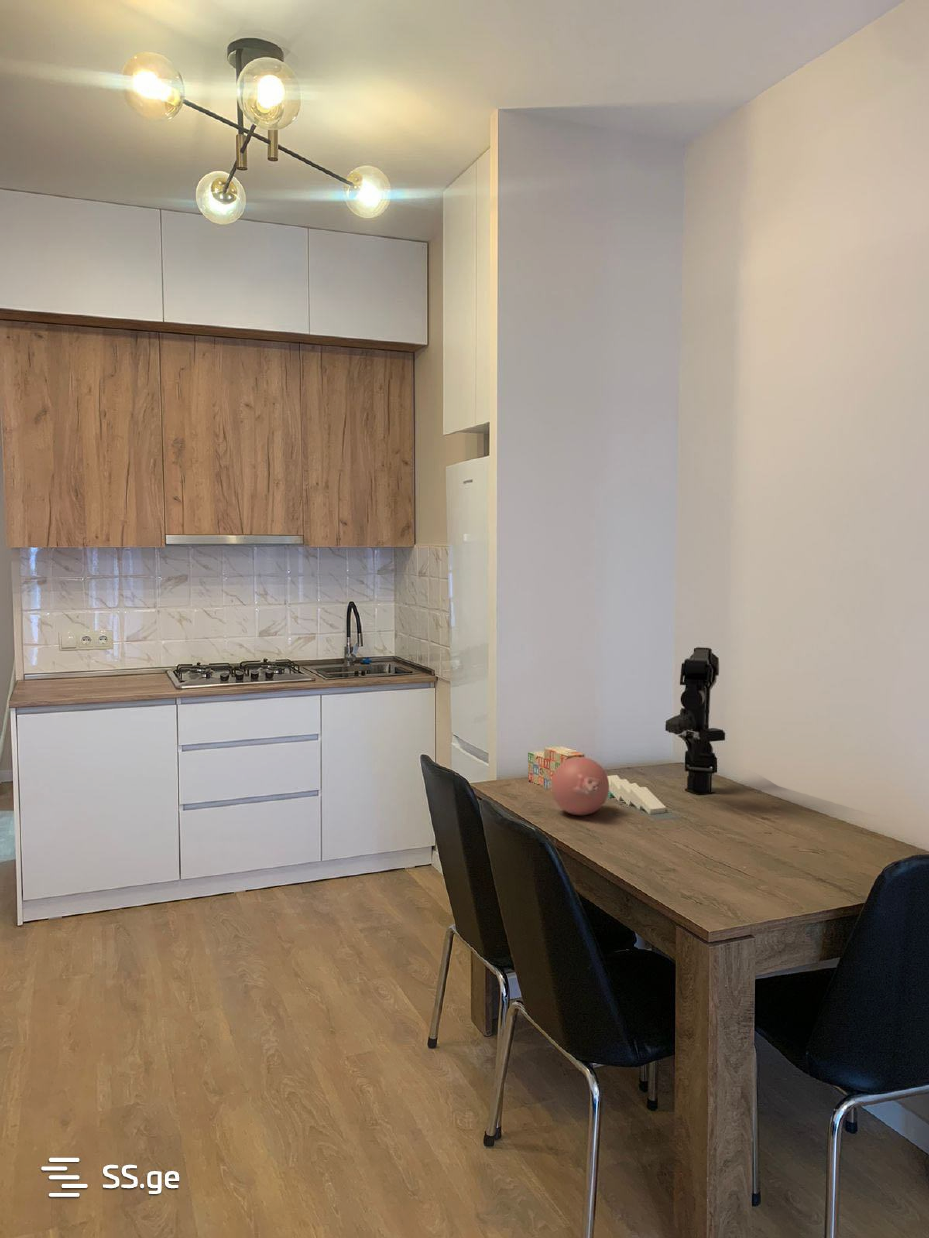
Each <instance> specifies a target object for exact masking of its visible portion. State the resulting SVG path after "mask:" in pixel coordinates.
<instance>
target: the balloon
mask: <svg viewBox="0 0 929 1238" xmlns="http://www.w3.org/2000/svg"><path fill="white" fill-rule="evenodd" d="M607 776H608V775H607V772H606V771H605V769H604V768H603V767H602V766H601V764H599V763H598V762H597V761H595V760H593V759H592V758H588V757H574V758H570V759H568V760H566V761H564V762H562V763H561V764H560V765H559V766H558V767H557V769H556V770H555V772H554V774H553V776H552V780H551V790H550V791H551V794H552V797H553V799H554V801H555V803H556V805H557V806H558V807H560V809H562V810H563V811H564V812H566V813H568V814H571V815H573V816H587V815H591V814H593V813H595V812H596V811H598V810H599V809H600V808H602V806H603V805H604V804H605V802H606V800H607V796H608V793H609V781H608V777H607Z"/></svg>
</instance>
